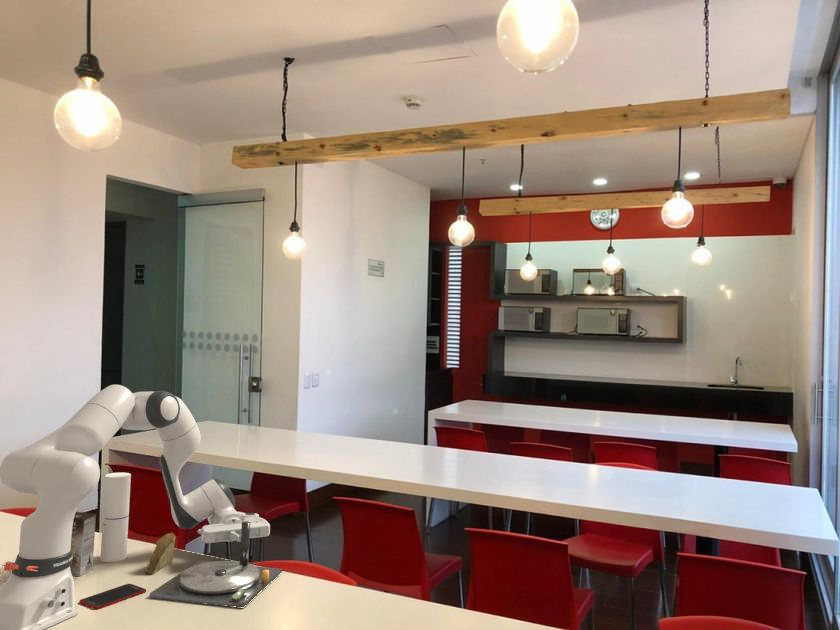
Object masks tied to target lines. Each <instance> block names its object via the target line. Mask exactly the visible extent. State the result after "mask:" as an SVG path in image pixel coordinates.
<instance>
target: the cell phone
mask: <svg viewBox="0 0 840 630" xmlns="http://www.w3.org/2000/svg"><path fill="white" fill-rule="evenodd" d="M146 592H147V589H146V588H144V587H142V586H138V585H135V584H133V583H126V584H123V585H119V586H117V587H115V588H110V589H107V590H105V591H103V592H99V593H96V594H93V595H90V596H87V597H84V598H81V599H80V600H79V601H78V604H80V605H82V606H84V607H87V608H89V609H92V610H94V611H98V610H101V609H103V608H107V607H109V606H113V605H116V604H118V603H120V602H123V601H126V600H129V599H132V598H134V597H137V596H140V595H142V594H145V593H146Z"/></svg>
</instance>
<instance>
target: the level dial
mask: <svg viewBox="0 0 840 630" xmlns="http://www.w3.org/2000/svg"><path fill="white" fill-rule="evenodd" d="M250 539H251V538H250V522H249V521H244V522H242V528H241V541H240V554H239V561H238V560H215V561H210V562H207V563H202V564H198V565H195V566H192V565H191V566H192V567H191V566H189V567H190V568H189V567H187V568H188V569H187V568H186V569H185V571H184V570H183V571H181V572H182V573H181V572H180V573H181V575H180V585H181V587H182V588H184V589H186V590H188V591H191V592H195V593H201V594H223V593H231V592H236V591H239V590H240V589H246V588H248V587H251V586H252V585H254V584H255V583H256V582H257V581H258V580H259V569H258V568H257V567H256V566H257V565H254V564H251V563H250V562H249V557H250Z"/></svg>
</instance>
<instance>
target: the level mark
mask: <svg viewBox="0 0 840 630" xmlns="http://www.w3.org/2000/svg"><path fill="white" fill-rule="evenodd" d="M268 582H269V570H263V571H262V583H268Z"/></svg>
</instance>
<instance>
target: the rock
mask: <svg viewBox="0 0 840 630" xmlns="http://www.w3.org/2000/svg"><path fill="white" fill-rule="evenodd" d="M176 539H177V537H176V534H175V533H173V532H169V533H166V534H164V535H163V536H161V537H160V538H159V539H158V540H156V542H155V543H156V545H155V549H154V551H153V554H152V556H151V558H150V560H149V563H148V566H147V567H146V570H145V573H146V574H148V575H154V574H156V573H158V572H159V570H160V569H161V570H163V569H162V568H164V567H165V568H167V567H168V566H170V565H171V564H172V563H173V554H174V553H173V551H174V548H175V543H176ZM166 566H167V567H166ZM165 568H164V569H165ZM161 570H160V571H161ZM157 571H158V572H157Z"/></svg>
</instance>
